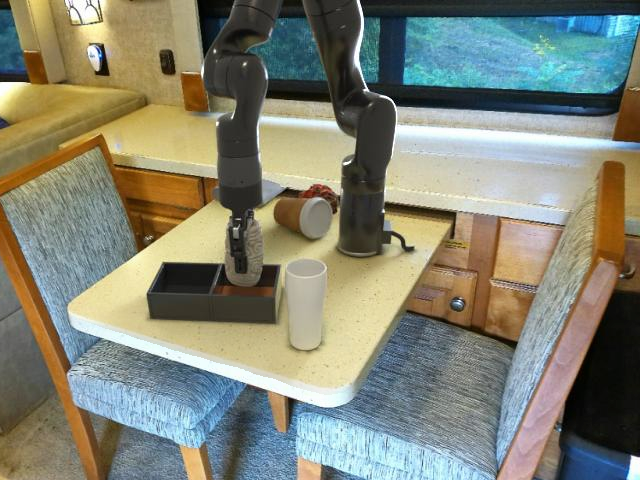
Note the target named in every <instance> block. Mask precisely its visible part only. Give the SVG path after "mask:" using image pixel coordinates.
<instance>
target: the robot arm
mask: <svg viewBox="0 0 640 480" xmlns="http://www.w3.org/2000/svg"><path fill="white" fill-rule="evenodd" d="M301 1H302V7H303V9H304V12H305V16H306V18H307V19H306V20H307V22H308V26H309V28H310V29H309V30H310V31H311V34H312V36H313V39H314V42H315V45H316V48H317V52H318V55H319V58H320V62H321V65H322V68H323V72H324V74H325V77H326V82H327V86H328V90H329V96H330V100H331V105H332V111H333V116H334V119H335V122H336V125H337V127H338V129H339V130H340V132H342V133H343V134H344V135H345V136H347V137H349V138H352V139H354V140H355V147H354V153H352V154H349V155H346V156H345V157H344V158H343V159H342V161H341V167H340V168H341V169H340V192H339V193H340V196H339V203H340V205H339V218H338V219H339V222H338V242H337V248H338V250H339V252H341V253H342V254H344V255H346V256H350V257H357V258H365V257H372V256H375V255H381V254H382V253H383V245H391V244H392V237H394V238H396V239H398V240H399V241H400V247H401V249H402V250H404V251H406V252H412V251H413V252H414V251H415V245H411V246H409V245H406V244H407V243H406V239H405V237H404V236H403V235H402V234H401V233H399V232H397V231H394V230H393V229H392V222H391V220H390V219H385V216H386V215H385V213H386V212H385V201H386V200H385V199H386V188H387V176H388V167H389V165H390V163H391V161H392V158H393V154H394V147H395V139H396V132H397V124H398V113H397V112H398V111H397V107H396V104H395V103H394V101H393V100H392V99H391V98H390V97H388V96H386V95H382V94H379V93H376V92H374V91H370V89H368V87H367V84H366V82H365V79H364V76H363V72H362V69H361V64H360V49H361V45H362V40H363V34H364V26H365V25H364V23H365V21H364V14H363V10H362V6H361V2H360V0H301ZM283 2H284V0H234V1H233V5H232V8H231V11H230V15H229V18H228V19H227V21H226V22H225V23H224V24H223V26H222V28H221V29H220V31H219V32H218V35H217V36H216V37H215V39H214V41H213V42H212V44H211V45H210V47H209V49H208V51H207V52H206V55H205V57H204V60H203V63H202V67H201V81H202V85H203V88H204V90H205V91H206V93H207V94H208V95H210V96H212V97H214V98H220V99H224V100H225V99H226V100H233V101H235V107H234V111H233V112H228V113H224V114H222V115H220V116H218V118H217V119H216V123H215V138H216V151H217V157H216V172H217V186H218V188H219V199H218V201H219V204H220V206H221V207H222V208H224V209H227V210H229V211H231V215H229V217H228V222H229V225H230V226H229V228H228V231H229V241H230V255H231V257H234V263H235V272H236V273H237V274H246V273H247V271H248V266H247V254H248V251H247V243H248V242H249V241H250V227H251V226H252V220H254V219H255V208H258V206H259V205H260V204H261V203H262V200H263V195H262V167H263V166H262V159H261V158H262V157H261V152H260V151H261V150H260V149H261V148H260V130H259V129H260V123H261V118H262V114H263V109H264V104H265V99H266V96H267V92H268V86H269V71H268V68H267V65H266V63H265V61H264V60H263V58H262V57H261V56H260V55H258V54H256V53H253V52H248V50H250V49H252V48H253V47H256V46H261V45H263V44H266V43H268V42H269V40H270V39H271V37H272V35H273V32H274V28H275V27H276V24H277V20H278V17H279V14H280V12H281V8H282V5H283ZM246 228H247V236H246V237H244V234H245V232H244V231H245V230H246ZM236 246H240V247H241V249H236Z"/></svg>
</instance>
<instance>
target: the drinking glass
mask: <svg viewBox="0 0 640 480" xmlns="http://www.w3.org/2000/svg"><path fill="white" fill-rule="evenodd" d="M327 271H328V270H327V265H326V263H325V262H323V261H322V260H320V259H317V258H314V257H299V258H295V259H292V260H290V261H289V262H287V264H286V265H285V266H284V292H285V300H286V301H285V302H286V310H287V318H288V319H287V320H288V328H289V329H288V330H289V343H290V345H291V346H292V347H294V348H295V349H297V350H300V351H312V350H314V349H316V348H317V347H319V345H320V344H321V342H322V329H323V320H324V313H325V305H326V295H327V286H328V272H327Z"/></svg>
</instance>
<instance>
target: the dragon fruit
mask: <svg viewBox="0 0 640 480" xmlns="http://www.w3.org/2000/svg"><path fill="white" fill-rule="evenodd" d="M314 197H322V198H323V199H325V200H326V201H327V202H328V203H329V204H330V205H331V208H332V212H333V216H334V215H336V214H337V213H338V212H339V211H338V206H340V199H339V196H338V194H337V193H335V191H333V189H332V188H331V187H329V186H328V185H326V184H321V183H313V184H312V185H310V186H309V188H308V189H305V190H302V191H301V192H298V193H297V194H296V199H302V198H303V199H304V198H305V199H306V198H307V199H308V198H309V199H310V198H314Z"/></svg>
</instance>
